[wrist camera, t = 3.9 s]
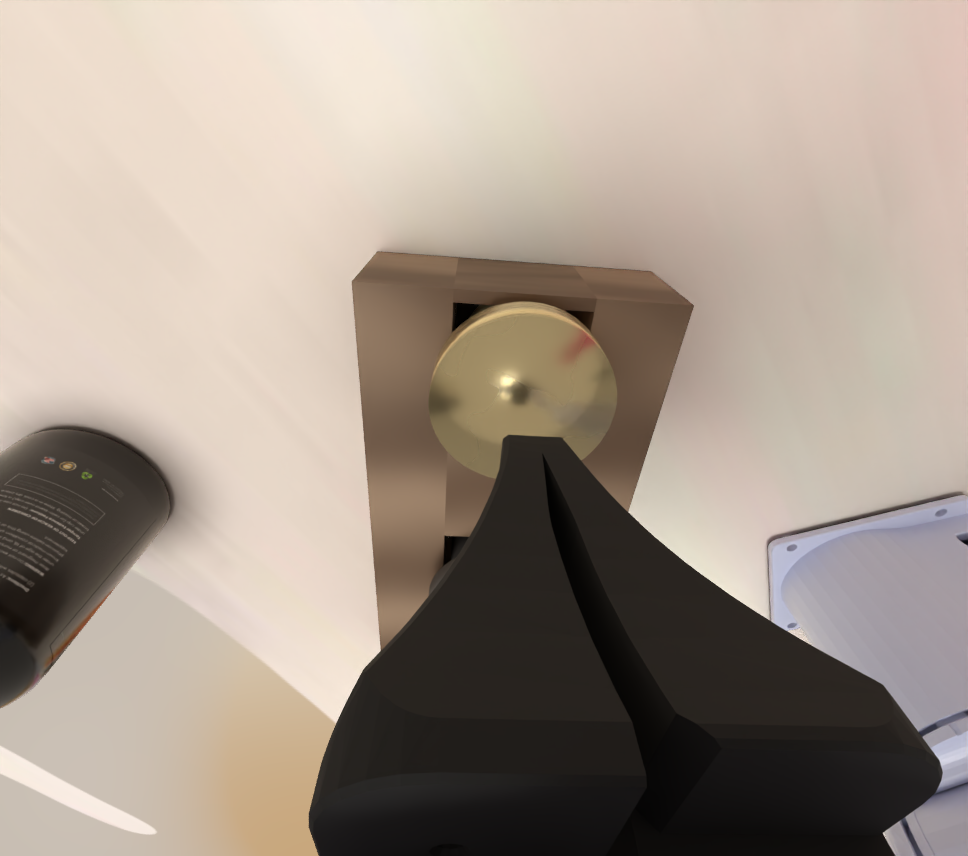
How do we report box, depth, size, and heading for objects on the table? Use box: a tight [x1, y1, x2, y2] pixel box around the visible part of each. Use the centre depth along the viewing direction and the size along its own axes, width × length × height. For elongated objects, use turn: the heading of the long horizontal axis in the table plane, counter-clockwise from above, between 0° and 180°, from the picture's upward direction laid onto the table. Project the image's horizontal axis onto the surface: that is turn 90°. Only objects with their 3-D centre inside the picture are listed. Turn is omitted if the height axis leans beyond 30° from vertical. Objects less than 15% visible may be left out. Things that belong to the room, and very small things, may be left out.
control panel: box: [352, 252, 694, 650], centre depth 22 cm, size 24×10×4 cm, turn 176°
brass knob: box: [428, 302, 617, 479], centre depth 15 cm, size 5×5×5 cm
